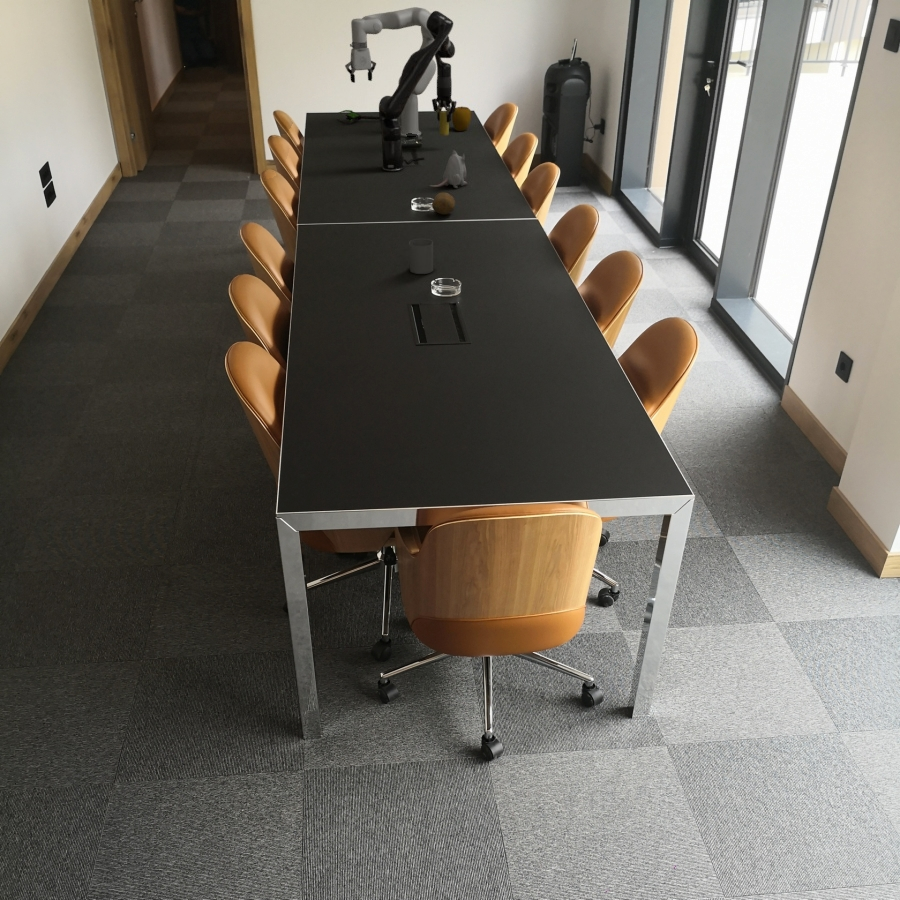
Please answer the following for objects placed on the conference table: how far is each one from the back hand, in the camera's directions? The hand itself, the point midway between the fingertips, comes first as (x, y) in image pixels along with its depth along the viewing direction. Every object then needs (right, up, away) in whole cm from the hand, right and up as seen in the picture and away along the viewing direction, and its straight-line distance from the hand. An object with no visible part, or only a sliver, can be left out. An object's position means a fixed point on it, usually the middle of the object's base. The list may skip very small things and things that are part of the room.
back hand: (361, 81), depth 453 cm
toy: (+45, -74, -59) cm, 105 cm away
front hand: (+43, -24, -8) cm, 50 cm away
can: (+43, -29, -4) cm, 52 cm away
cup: (+36, -129, -145) cm, 197 cm away
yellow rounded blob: (+53, -12, +38) cm, 66 cm away
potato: (+44, -94, -90) cm, 137 cm away
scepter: (-5, 0, +56) cm, 56 cm away
